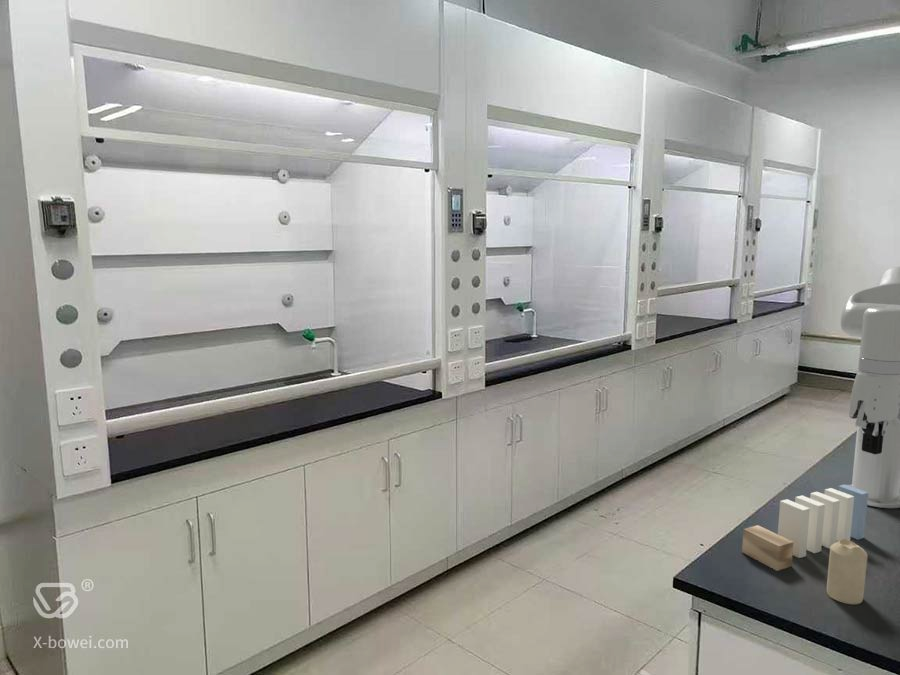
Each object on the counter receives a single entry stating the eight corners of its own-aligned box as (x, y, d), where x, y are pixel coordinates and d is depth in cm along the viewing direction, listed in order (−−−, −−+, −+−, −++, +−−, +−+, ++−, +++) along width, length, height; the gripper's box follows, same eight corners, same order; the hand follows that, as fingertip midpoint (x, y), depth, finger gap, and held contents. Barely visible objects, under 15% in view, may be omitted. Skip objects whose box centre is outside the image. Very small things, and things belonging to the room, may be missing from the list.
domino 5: (840, 528, 137) (844, 484, 136) (863, 537, 133) (868, 492, 131) (834, 529, 137) (838, 485, 135) (857, 539, 132) (862, 494, 131)
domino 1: (783, 545, 130) (787, 499, 128) (805, 556, 125) (809, 508, 124) (776, 547, 129) (780, 500, 128) (799, 558, 125) (803, 510, 123)
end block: (756, 548, 129) (757, 525, 128) (791, 566, 122) (793, 541, 121) (741, 552, 127) (743, 528, 126) (777, 570, 120) (778, 546, 119)
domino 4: (826, 532, 136) (830, 487, 134) (849, 542, 131) (854, 496, 130) (820, 534, 135) (824, 489, 133) (843, 544, 130) (847, 498, 129)
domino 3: (812, 536, 134) (816, 491, 132) (835, 546, 129) (840, 500, 128) (806, 538, 133) (810, 493, 131) (829, 548, 128) (833, 502, 127)
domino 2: (798, 540, 132) (802, 495, 130) (821, 551, 127) (825, 504, 126) (791, 542, 131) (795, 496, 129) (814, 553, 127) (818, 506, 125)
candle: (870, 601, 110) (876, 547, 108) (845, 607, 108) (851, 552, 107) (842, 585, 115) (847, 533, 113) (818, 590, 113) (823, 538, 112)
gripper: (883, 361, 138) (875, 442, 140) (838, 366, 131) (831, 451, 134) (921, 367, 131) (911, 452, 134) (875, 373, 125) (866, 462, 127)
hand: (871, 452), depth 134 cm, fingers closed
